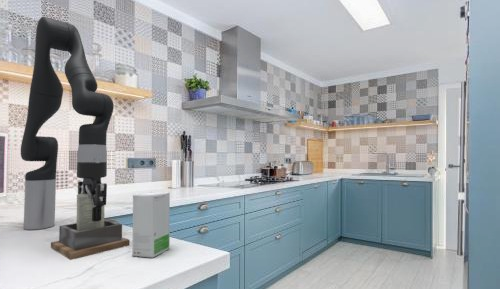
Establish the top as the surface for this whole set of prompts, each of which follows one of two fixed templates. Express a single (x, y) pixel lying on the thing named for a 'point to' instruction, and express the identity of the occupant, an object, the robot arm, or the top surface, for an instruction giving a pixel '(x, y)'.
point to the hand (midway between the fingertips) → (91, 219)
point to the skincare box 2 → (151, 224)
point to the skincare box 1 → (87, 214)
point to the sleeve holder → (89, 240)
